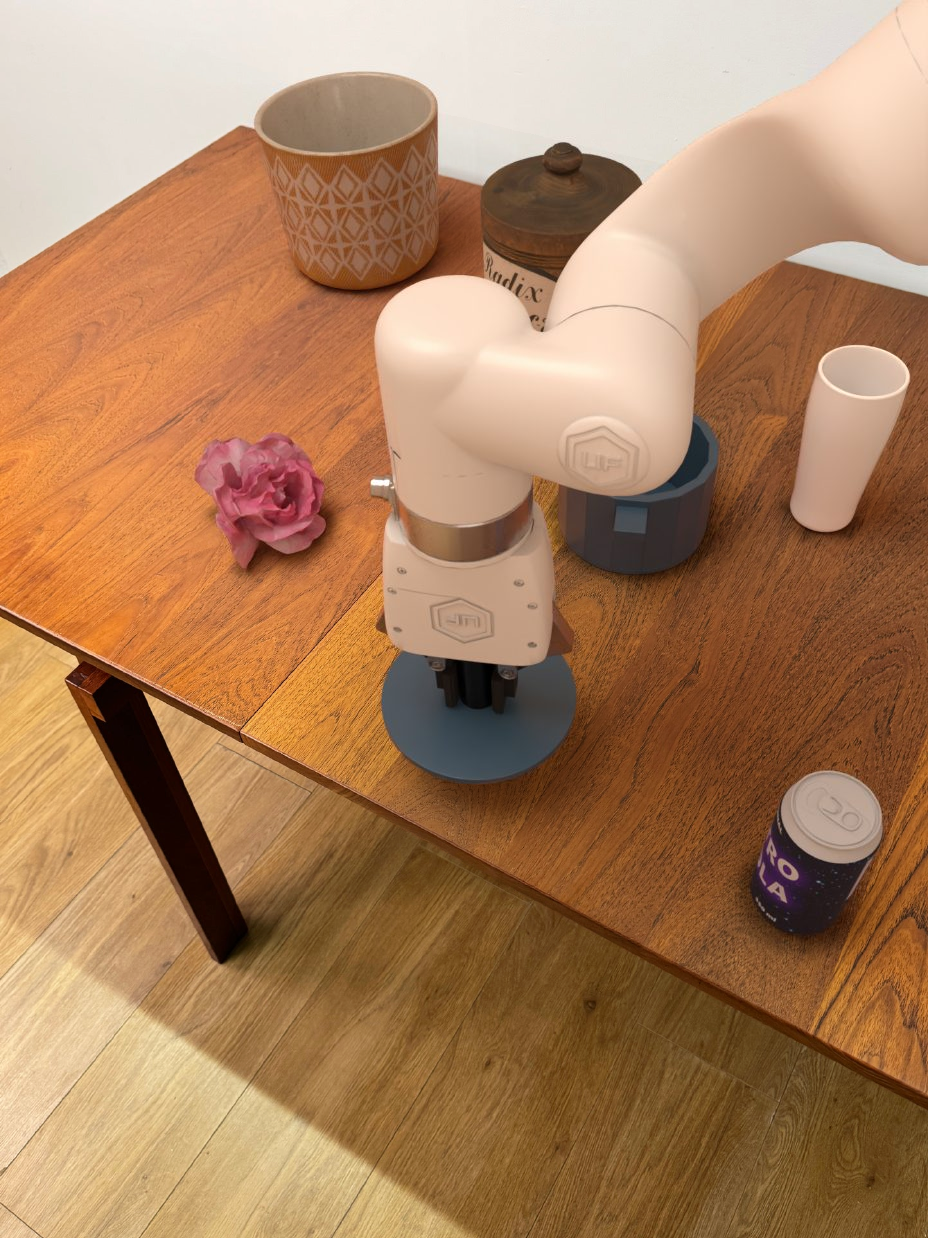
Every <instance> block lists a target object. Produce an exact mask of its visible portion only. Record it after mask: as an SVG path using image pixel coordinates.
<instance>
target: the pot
mask: <svg viewBox="0 0 928 1238" xmlns="http://www.w3.org/2000/svg"><path fill="white" fill-rule="evenodd" d="M719 455H720V442H719V440H718V439H717V437H716V435H715V433H714V432H713V430H712V428H711V427H710V425H709V424H708V422H707V421H706V420H704V419H703V418H702V417H700V416H699V415H697V414H696V413H695V412H693V422H692V432H691V438H690V443H689V447H688V451H687V453H686V455H685V458H684V460H683V462H682V464H681V465H680V467H679V468H678V470H677V471H676V473H675V474H674V475H673V476H672V477H671V478H670V479H668V480H667V481H666V482H665V483H663V484H662V485H660V486H659V487H657V488H655V489H653V490H651V491H648V492H645V493H642V494H637V495H632V496H607V495H600V494H593V493H589V492H585V491H581V490H577V489H573V488H570V487H567V486H564V485H561V484H558V497H557V499H558V500H557V501H558V502H557V522H558V526H559V531H560V533H561V536H562V538H563V541H564V542H565V543H566V545H567V546H568V548H569V549H570V550H571V551H572V552H573V553H574V554H575V555H576V556H577V557H579V558H580V559H581V560H583V561H584V562H587V563H588V564H590V565H592V566H594V567H596V568H598V569H601V570H604V571H608V572H611V573H617V574H622V575H635V576H636V575H649V574H655V573H660V572H664V571H667V570H670V569H671V568H674V567H676V566H678V565H680V564H681V563H683V562H684V561H686V560H687V559H688V558H690V557H691V556H692V555H693V554H694V553H695V552H696V550H697V549H699V546H700V544H701V543H702V541H703V538H704V536H705V534H706V531H707V526H708V520H709V515H710V511H711V510H710V509H711V504H712V498H713V493H714V488H715V483H716V479H717V473H718V468H719V467H718V466H719Z"/></svg>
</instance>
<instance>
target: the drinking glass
mask: <svg viewBox="0 0 928 1238" xmlns="http://www.w3.org/2000/svg"><path fill="white" fill-rule="evenodd" d="M910 380H911V373H910V370H909V368H908V367H907V365H906V363H905V362H904V361H902V360H901V358H900V357H898V356H896V355H895V354H893V353H892V352H889V351H888V350H885V349H882V348H879V347H875V346H871V345H863V344H852V345H851V344H850V345H843V346H840V347H837V348H834V349H832V350H830V351H828V352H827V353H825V354H824V355H823V356H822V357H821V359H820V360H819V362H818V365H817V369H816V372H815V374H814V377H813V381H812V384H811V386H810V387H811V388H810V391H809V395H808V399H807V404H806V409H805V412H804V413H805V414H804V418H803V419H804V420H803V427H802V434H801V440H800V446H799V453H798V459H797V465H796V473H795V479H794V485H793V489H792V493H791V496H790V501H789V509H790V514H791V515H792V517H793V519H794V520H795V521H796V522H797V523H798V524H800V525H801V526H802V527H804V528H806V529H808V530H811V531H813V532H819V533H831V532H832V533H833V532H836V531H839V530H842V529H844V528H845V527H847V526H848V525H849V524H850V523H851V522H852V520H853V518H854V516H855V513H856V511H857V508H858V505H859V502H860V500H861V498H862V495H863V494H864V492H865V489H866V487H867V485H868V483H869V481H870V479H871V477H872V474H873V473H874V470H875V469H876V466H877V464H878V462H879V460H880V458H881V456H882V454H883V452H884V450H885V448H886V446H887V443H888V442H889V439H890V437H891V435H892V433H893V431H894V428H895V426H896V424H897V421H898V419H899V416H900V413H901V410H902V407H903V405H904V402H905V399H906V395H907V391H908V388H909V385H910V382H911V381H910Z"/></svg>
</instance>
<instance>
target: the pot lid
mask: <svg viewBox="0 0 928 1238" xmlns="http://www.w3.org/2000/svg"><path fill="white" fill-rule="evenodd" d="M456 662H457V673H458V683H459V693H460V694H459V699H458V703H457V706H454V708H452V707H446V703H445V695H444V689H440V688H437V682H436V674H435V670H432V669H430V668H429V667H428V664H427V658H426V657H424V656H423V655H419V654H414V653H409V652H406V651H404V650H401V652H400V653H399V654H398V656H397V657H396V658H395V659H394V661H393V662H392V664H391V666H390V668H389V670H388V671H387V673H386V676H385V679H384V681H383V685H382V689H381V695H380V706H381V716H382V720H383V724H384V727H385V730H386V732H387V734H388V736H389V739H390V740H391V742H392V743H393V745H394V747H395V748H396V750H398V752H399V753H400V754H401V755H402V757H404V758H405V759H406V760H407V761H408V762H410V763H411V764H412V766H414V767H416V768H418V769H420V770H421V771H423V772H425V773H427V774H429V775H431V776H433V777H436V778H438V779H440V780H441V779H442V780H444V781H446V782H447V781H448V782H452V783H458V784H465V785H489V784H495V783H502V782H506V781H510V780H513V779H516V778H518V777H521V776H523V775H525V774H527V773H529V772H532V771H533V770H534V769H536V768H538V767H539V766H541V765H542V764H544V763H545V762H546V761H548V760H549V759H550V758H551V757H552V756H553V755H554V754H555V753H556V752H557V751H558V750H559V749H560V748H561V746H562V745H563V743H564V742H565V740H566V738H567V737H568V735H569V734H570V732H571V729H572V727H573V723H574V721H575V716H576V712H577V698H578V696H577V695H578V694H577V685H576V681H575V678H574V674H573V672H572V670H571V668H570V666H569V663H568V662H567V661H566V659H565V657H564V656H563V654H561V655H556V656H550V657H547V656H546V658H545V659H544V660H543V661H542V662H540V663H537V664H534V665H529V666H527V667H525V668H523V669H521V670H519V671H518V683H517V690H516V695H515V698H513V697H506V701H505V707H504V712H503V714H499V713H495V711H493V707H492V688H491V679H492V673H493V668H494V664H492V663H483V662H474V661H465V660H457V659H456Z"/></svg>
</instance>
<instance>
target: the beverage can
mask: <svg viewBox="0 0 928 1238" xmlns="http://www.w3.org/2000/svg"><path fill="white" fill-rule="evenodd" d="M883 837H884V822H883V813H882V808H881V805H880V802H879V800H878V798H877V796H876V795H875V794H874V792H873V791H872V790H871V789H870V788H869V786H867V785H866V784H865V783H864V782H862V781H861V780H859V779H857V778H856V777H854V776H852V775H850V774H849V773H845V772H841V771H836V770H819V771H813V772H812V773H809V774H807V775H805V776H803V777H801V778H800V780H798V781H796V782H793V784H792V785H790V786H789V788H787V789H786V791H785V792H784V794H783V795H782V797H781V799H780V802H779V804H778V807H777V810H776V812H775V814H774V817H773V820H772V823H771V825H770V827H769V831H768V833H767V836H766V838H765V841H764V843H763V846H762V848H761V851H760V854H759V857H758V858H757V861H756V864H755V866H754V870H753V871H752V874H751V879H750V893H751V897H752V900H753V903H754V905H755V907H756V909H757V910H758V912H759V913H760V914H761V916H762V917H763V918H764V919H765V920H766V921H767V922H768V923H770V924H771V925H772V926H774V927H776V928H777V929H779V930H781V931H783V932H785V933H789V934H792V935H796V936H813V935H817V934H820V933H823V932H825V931H827V930H828V929H830V928H831V927H832V926H833V925H834V924H835V923H836V922H837V920H838V919H839V916H840V915H841V914H842V911H843V909H844V908H845V907H846V904H847V903H848V901H849V899H850V898H851V896H852V894H853V892H855V889H856V887H857V886H858V884H859V882H860V881H861V879H862V877H863V875H864V874H865V872H866V870H867V869H868V867H869V865H870V864H871V862H872V860H873V859H874V856H875V855H876V853H877V851H878V850H879V848H880V846H881V844H882V841H883Z"/></svg>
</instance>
